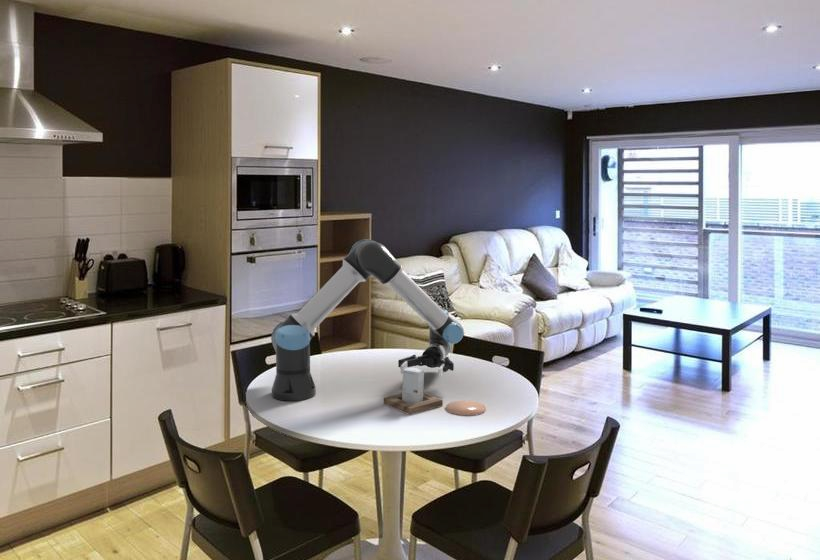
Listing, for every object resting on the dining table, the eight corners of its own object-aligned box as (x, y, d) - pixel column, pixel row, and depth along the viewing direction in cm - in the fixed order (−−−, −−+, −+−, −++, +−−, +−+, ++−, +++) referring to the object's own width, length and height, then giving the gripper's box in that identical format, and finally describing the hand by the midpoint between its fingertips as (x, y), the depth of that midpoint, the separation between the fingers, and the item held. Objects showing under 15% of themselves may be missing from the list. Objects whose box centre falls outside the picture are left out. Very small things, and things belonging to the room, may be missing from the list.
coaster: (437, 407, 217) (437, 405, 217) (466, 399, 225) (466, 398, 225) (465, 418, 207) (465, 416, 207) (494, 409, 215) (494, 408, 215)
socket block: (383, 403, 221) (383, 397, 221) (415, 395, 230) (415, 389, 229) (409, 414, 210) (409, 408, 210) (442, 405, 219) (442, 399, 219)
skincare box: (401, 405, 220) (401, 369, 218) (408, 401, 223) (408, 366, 222) (417, 408, 217) (417, 372, 215) (424, 404, 220) (424, 369, 219)
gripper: (466, 367, 246) (456, 384, 226) (401, 363, 252) (386, 379, 232) (466, 347, 245) (456, 362, 225) (401, 344, 251) (386, 358, 231)
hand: (420, 371), depth 228 cm, fingers open, 13 cm apart
